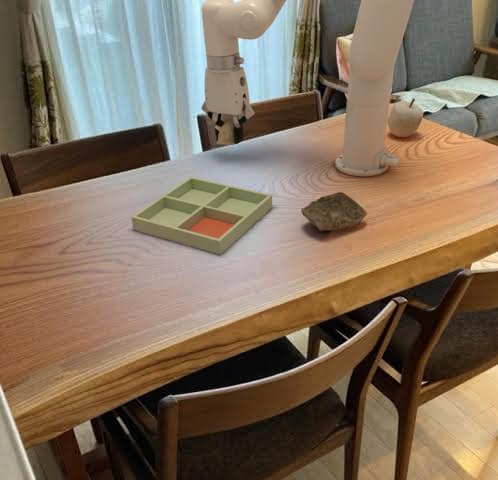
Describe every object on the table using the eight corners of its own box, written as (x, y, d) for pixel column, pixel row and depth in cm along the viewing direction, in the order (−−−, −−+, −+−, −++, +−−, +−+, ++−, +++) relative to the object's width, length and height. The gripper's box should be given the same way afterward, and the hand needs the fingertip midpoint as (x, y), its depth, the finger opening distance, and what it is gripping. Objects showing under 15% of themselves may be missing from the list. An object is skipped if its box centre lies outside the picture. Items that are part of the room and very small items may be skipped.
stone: (328, 238, 102) (312, 198, 101) (305, 247, 109) (290, 210, 108) (374, 218, 107) (359, 180, 107) (349, 228, 114) (335, 192, 114)
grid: (272, 207, 116) (272, 194, 114) (220, 254, 102) (219, 241, 100) (191, 188, 124) (190, 176, 122) (133, 229, 110) (131, 216, 109)
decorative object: (380, 132, 148) (385, 94, 141) (409, 128, 149) (415, 91, 143) (394, 144, 141) (400, 105, 135) (425, 140, 142) (432, 101, 136)
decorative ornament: (247, 140, 135) (245, 118, 132) (220, 149, 131) (218, 127, 128) (237, 136, 137) (235, 115, 134) (210, 145, 134) (208, 123, 130)
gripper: (263, 60, 121) (266, 139, 133) (201, 55, 129) (209, 131, 140) (247, 68, 117) (251, 150, 128) (183, 63, 124) (193, 141, 135)
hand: (229, 139), depth 134 cm, fingers closed on decorative ornament, 4 cm apart
